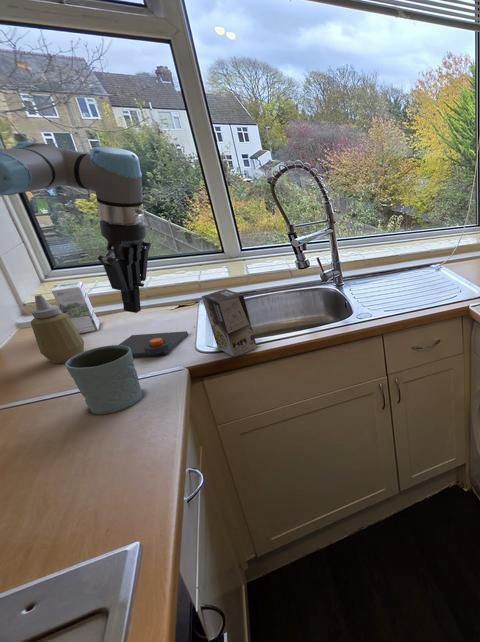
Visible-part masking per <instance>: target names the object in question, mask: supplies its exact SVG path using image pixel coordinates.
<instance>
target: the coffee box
mask: <svg viewBox="0 0 480 642" xmlns="http://www.w3.org/2000/svg"><path fill="white" fill-rule="evenodd" d="M201 300H202V303H203V306H204V309H205V313H206V315H207V319H208V322H209V325H210V328H211V331H212V334H213V338H214V340H215V344H216V347H217V349H218V350H220V351H222V352H224V353H226V354H228V355H230V356H232V357H234V358H235V357H237V356H238V357H239V356H240V355H242V354H245V353H248V352H251V351H252V350H255V349H257V341H256V338H255V334H254V331H253V327H252V323H251V318H250V315H249V312H248V308H247V303H246V299H245V295H244V294H241V293H239V292H236V291H233V290H230V289H226V288H224V289H220V290H217V291H214V292H212V293H211V292H210V293H208V294H204V295H201Z"/></svg>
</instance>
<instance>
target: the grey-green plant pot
mask: <svg viewBox="0 0 480 642" xmlns="http://www.w3.org/2000/svg"><path fill="white" fill-rule="evenodd" d="M64 366H65V368H66V370H67V371H68V373H69V375H70V377H71V378H72V379H73V381H74V384H75V385H76V387H77V388H78V390H79V393H80V394H81V395H82V397H83V398H84V401H85V403H86V405H87V407H88V409H89V410H90V412H91V413H93V414H96V415H105V414H106V415H107V414H112V413H115V412H119V411H122V410H124V409H127V408H130V407H131V406H134V404H136V403H137V402H139V401H140V400H141V399H142V397H143V392H142V391H143V390H142V387H141V385H140V381H139V377H138V372H137V369H136V368H135V362H134V358H133V356H132V352H131V349H130V348H129V347H128V346H124V345H119V344H111V345H104V346H99V347H95V348H91V349H88V350H85V351H84V352H82V353H79V354H77V355H75V356H73V357H72V358H70V359H69V360H68V361H67V362H65V363H64Z"/></svg>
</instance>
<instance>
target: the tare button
mask: <svg viewBox="0 0 480 642" xmlns="http://www.w3.org/2000/svg"><path fill="white" fill-rule="evenodd" d="M150 344H151V347H156V346H160V345H162V344H164V343H163V340H162V338H155V339H152V340H150Z"/></svg>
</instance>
